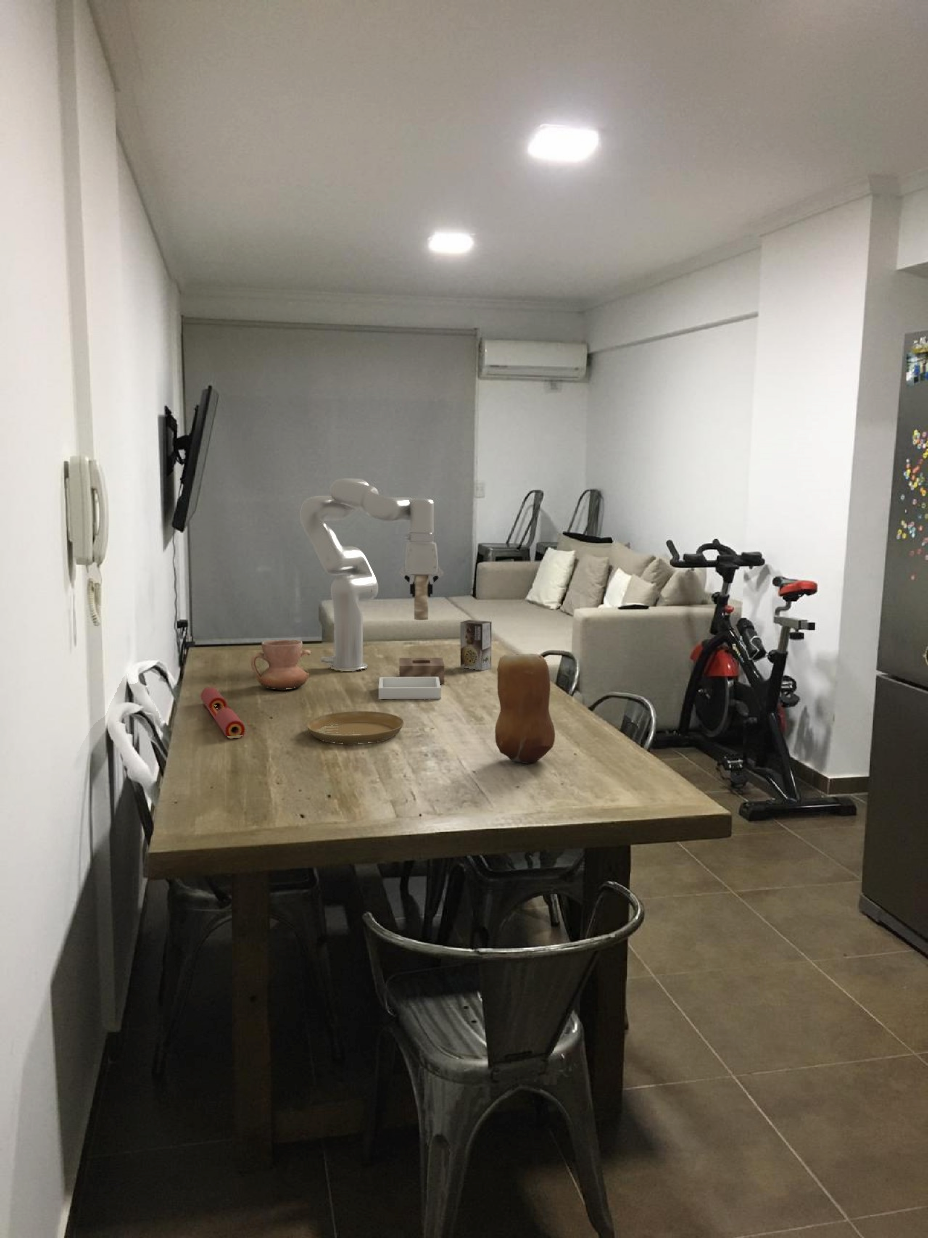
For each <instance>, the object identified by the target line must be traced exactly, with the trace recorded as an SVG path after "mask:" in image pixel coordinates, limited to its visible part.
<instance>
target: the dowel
mask: <svg viewBox="0 0 928 1238" xmlns="http://www.w3.org/2000/svg"><path fill="white" fill-rule="evenodd" d="M414 584H415V597H413V599H414V600H413V602H414V603H413V606H414V607H413V609H414V611H413V614H414V615H413V618H414V620H416V621H426V620H429V597H428V584H429V577H428V575H415V577H414Z"/></svg>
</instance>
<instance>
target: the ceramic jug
mask: <svg viewBox="0 0 928 1238" xmlns="http://www.w3.org/2000/svg"><path fill="white" fill-rule="evenodd" d="M261 648H262V652H263V653H262V652H255V653H254V654H253V655H252V656H251V658H250V666H251V667H250V668H251V669H252V671H253V673H254V674H255V676H256V680H257V681H258V683H259V684H261V686H263V687H264V688H267V687H268V688H267V689H270V688H275V689H286V688H294V687H298V688H300V687H301V686H303V685H304V684H306V682H307V680H308V679H309V677H310V673H309V672H306V671H305V670H304V669H302V668H301V667H299V665H298V662H299V659H300V658H301V657H302V656H304V655H308V656H310V655H311V650H309V649H305V650H302V649H303V641H302V640H300V639H299V640H298V639H279V640H278V639H277V640H269V641H267V640H266V641H263V642H261ZM257 658H258V659H259V658H260V659H262V660H264V661H266V662H267V664H268V667H267V668H266V669H265V670H264V671H263V672H261V673H259V671H258V669H257V665H256V661H257ZM294 689H295V688H294Z"/></svg>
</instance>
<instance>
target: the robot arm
mask: <svg viewBox="0 0 928 1238" xmlns="http://www.w3.org/2000/svg"><path fill="white" fill-rule="evenodd" d="M329 493H330V494H329V495H315V496H311V497H307V499H305V500H304V501H303V503H302V504H301V507H300V511H299V518H300V524H301V526H302V529H303V531H304V533H305V534H306V535H307V537H308V539H309V541H310V543H311V544H312V547H313V548H314V551H315V553H316V555H317V557H318V560H319V561H320V563H321V565H322V568H323V569H324V572H326V573H327V574H328V575H330V576H338V577H336V578H335V579H334V580H333V581H332V582H331V585H330V596H331V601H332V605H333V606H332V607H333V632H334V633H333V637H334V640H333V642H334V648H333V649H334V654H333V655H331V656H321V657H320V659H321V660H320V661H321V662H320V663H324V664H329V668H330V667H331V668H336V669H342V670H355V669H362V668H367V666H368V663H365V662H364V648H363V647H364V641H363V639H364V637H363V636H364V635H363V634H364V633H363V632H364V629H363V628H364V627H363V624H364V623H363V620H364V618H363V613H362V610H361V608H360V606H359V603H362V602H369V601H372V600H374V599H375V598H376V597H377V595H378V593H379V583H378V580H377V578H376V575H375V574H374V571H373V569H372V567H371V566H370V564H369V561H368V559H367V557H366V555H365V554H364V552H363V551H362V550H360V549H359V548H358V547H356V546H352V545H348V546H345V545H344V546H343V545H342V544H341V543H340V541H339V539H338V537H337V535H336V533H335V532H334V529H332V528H331V527H330V526H329V525H328V524H326V522H333V521H334V522H335V521H342V520H345V519H347V518H349V517H350V516H351V515H352V514H354V513H355V512H356V511H358V510H359V511H362V512H364V514H366V515H367V516H369V517H371V518H374V519H377V520H381V521H383V522H388V523H392V522H393V523H394V522H409V533H407V534H404V539H405V540H408V541H409V542H407V543H406V548H405V560H404V565H403V566H402V568H401V569H400V570H399V572H398V575H399V576H401V577H402V578H403V579H405V580H406V581H407V583H408V584H409V595H411V597H412V598H414V597H415V584H414V577H415V575H428V598H431V595H433V594H434V593H433V592H434V591H433V587H434V584H435V582H437V581H438V579H440V578H441V577H443V576H444V575H445V572H444V571H443V570H442V568H441V566H440V565H439V561H438V560H439V559H438V546H437V543H436V542H434V540H435V539H434V538H435V536H434V533H435V532H434V531H435V530H434V529H435V523H434V522H435V504H434V500H432V499H431V498H414V497H408V496H407V497H399V496H397V497H388V496H384V495H382V494H381V495H380V494H379V493H380V492H379V491H378V489H377V487H375V486H373V485H370V484H369V483H368V482H367V481H366V480H364V479H362V478H351V477H348V478H347V477H346V478H344V477H343V478H338V479H336V480H335V481H334V482H332V484H331V485H330V489H329ZM433 575H434V576H433ZM367 669H368V668H367Z"/></svg>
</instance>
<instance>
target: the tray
mask: <svg viewBox="0 0 928 1238" xmlns="http://www.w3.org/2000/svg"><path fill="white" fill-rule="evenodd" d="M378 681H379V682H378V700H379V699H424V701H425V699H429V700H430V699H442V687H441V685H440V681H439V677H399V676H380V677H379V680H378ZM429 700H428V701H429Z"/></svg>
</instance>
